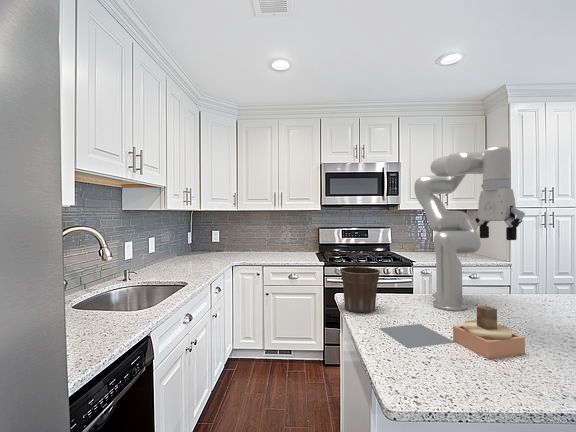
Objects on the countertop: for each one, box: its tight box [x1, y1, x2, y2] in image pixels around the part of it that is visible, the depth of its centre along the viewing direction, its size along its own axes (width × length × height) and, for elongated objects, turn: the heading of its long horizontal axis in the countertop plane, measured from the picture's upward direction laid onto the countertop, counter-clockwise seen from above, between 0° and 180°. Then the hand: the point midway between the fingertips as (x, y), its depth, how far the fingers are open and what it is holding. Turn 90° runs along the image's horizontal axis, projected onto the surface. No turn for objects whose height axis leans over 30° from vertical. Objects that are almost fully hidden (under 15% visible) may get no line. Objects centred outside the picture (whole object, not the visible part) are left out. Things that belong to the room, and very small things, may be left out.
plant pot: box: [339, 266, 381, 314], centre depth 125 cm, size 16×16×16 cm
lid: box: [462, 305, 513, 340], centre depth 86 cm, size 12×12×7 cm
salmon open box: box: [452, 324, 526, 360], centre depth 86 cm, size 12×12×5 cm
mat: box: [378, 323, 457, 349], centre depth 95 cm, size 16×16×1 cm
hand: (497, 238), depth 98 cm, fingers open, 9 cm apart
